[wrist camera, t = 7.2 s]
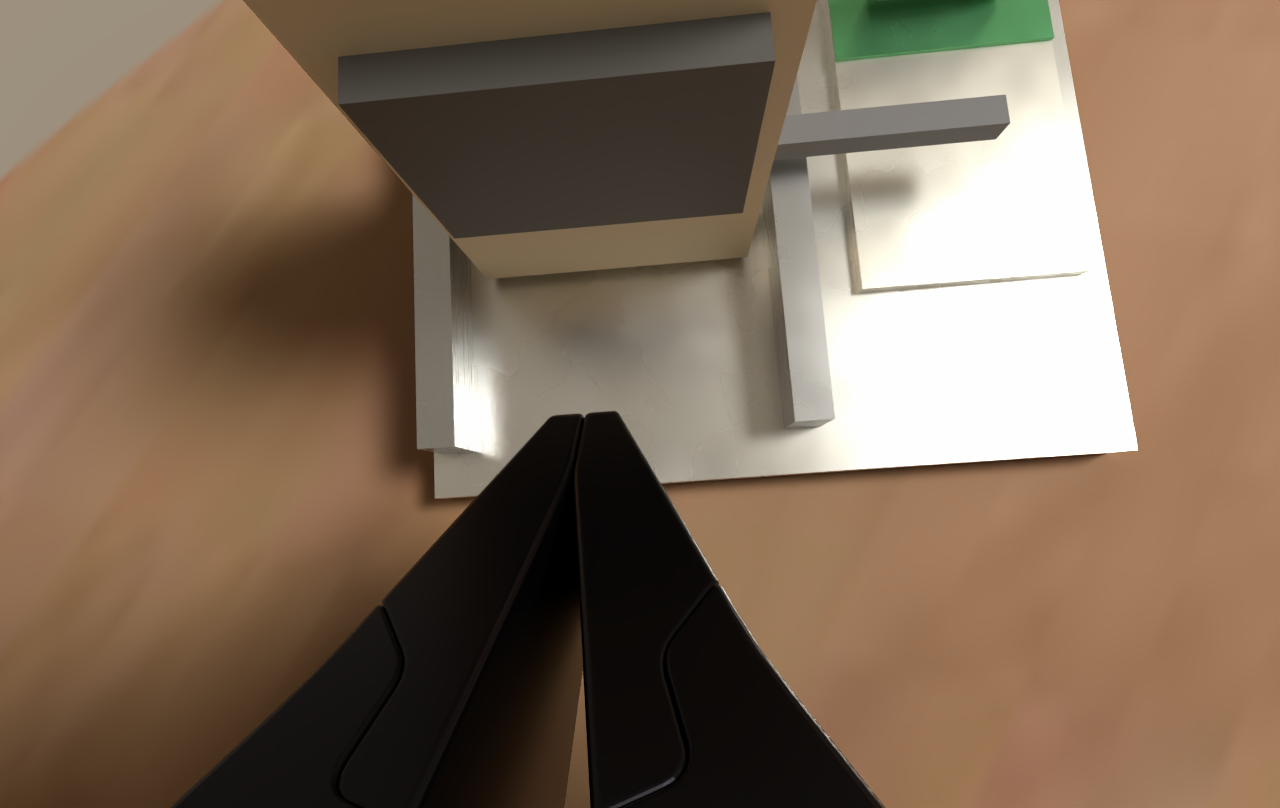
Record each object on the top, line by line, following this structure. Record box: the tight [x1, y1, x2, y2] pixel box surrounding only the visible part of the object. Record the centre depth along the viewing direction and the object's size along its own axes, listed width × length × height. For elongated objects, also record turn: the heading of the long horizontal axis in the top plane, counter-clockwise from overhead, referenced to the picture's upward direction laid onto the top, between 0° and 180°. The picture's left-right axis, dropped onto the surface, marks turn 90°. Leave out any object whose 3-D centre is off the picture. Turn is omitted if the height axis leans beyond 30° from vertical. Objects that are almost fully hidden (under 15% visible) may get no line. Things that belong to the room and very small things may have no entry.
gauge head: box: [243, 0, 1010, 279], centre depth 10 cm, size 4×11×11 cm, turn 94°
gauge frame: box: [412, 0, 1138, 499], centre depth 16 cm, size 13×16×2 cm
